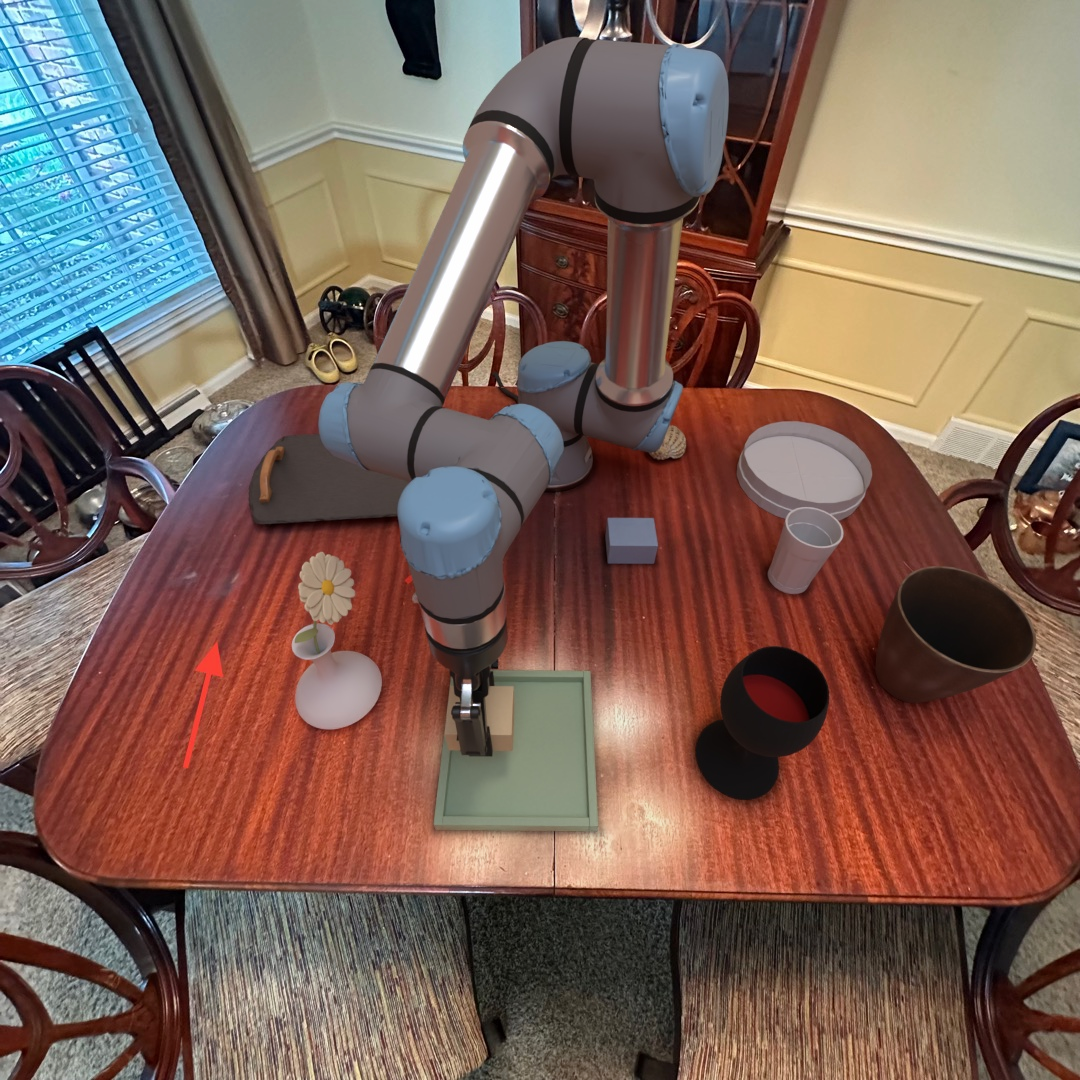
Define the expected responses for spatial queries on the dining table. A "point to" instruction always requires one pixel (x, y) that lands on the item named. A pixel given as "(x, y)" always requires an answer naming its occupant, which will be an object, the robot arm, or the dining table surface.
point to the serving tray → (317, 486)
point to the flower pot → (950, 635)
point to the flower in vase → (333, 678)
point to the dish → (803, 469)
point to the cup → (803, 548)
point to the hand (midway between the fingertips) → (483, 725)
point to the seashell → (671, 445)
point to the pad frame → (528, 763)
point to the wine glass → (762, 721)
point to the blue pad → (631, 541)
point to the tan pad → (488, 718)
